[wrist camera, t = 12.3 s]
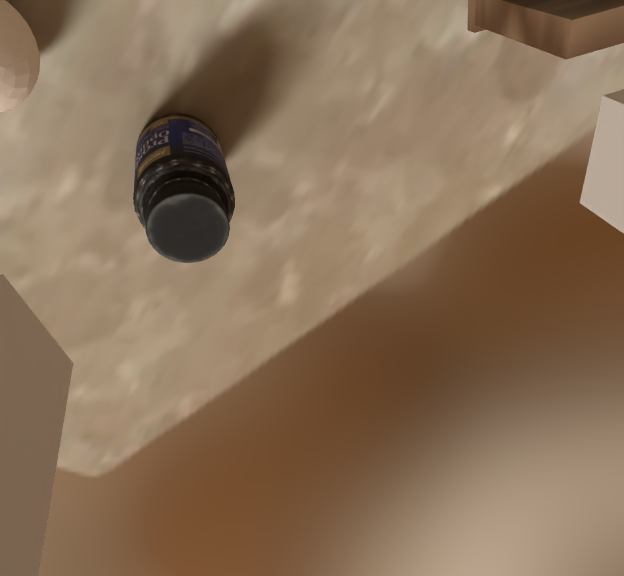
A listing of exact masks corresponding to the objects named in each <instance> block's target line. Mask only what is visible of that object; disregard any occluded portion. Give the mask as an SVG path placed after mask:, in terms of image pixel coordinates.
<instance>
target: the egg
mask: <svg viewBox="0 0 624 576" xmlns="http://www.w3.org/2000/svg"><path fill="white" fill-rule="evenodd" d="M39 69H40V55H39V51H38V47H37V43H36V39H35V37H34V35H33V33H32V31H31V29H30V27H29V25H28V24H27V22H26V21H25V20H24V18H23V17H22V16H21V15H20V13H19V12H18V11H17V10H16V9H15V8H14V7H13V6H12V5H11V4H10V3H8V2H7V1H6V0H0V112H3V111H6V110H9V109H12V108H13V107H15V106H16V105H18V104H19V103H21V102H22V101H24V99H25V98H26V97H27V96H28V95H29V94H30V93H31V91H32V89H33V87H34V86H35V84H36V82H37V79H38V75H39Z"/></svg>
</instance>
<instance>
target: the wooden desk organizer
mask: <svg viewBox="0 0 624 576" xmlns="http://www.w3.org/2000/svg"><path fill="white" fill-rule="evenodd" d="M468 30H469V31H472V32H474V33H475V32H479V31H482V30H489V31H492V32H494V33H497V34H500V35H502V36H505V37H508V38H510V39H513V40H516V41H518V42H521V43H524V44H526V45H529V46H532V47H534V48H537V49H540V50H542V51H545V52H548V53H550V54H553V55H556V56H558V57H561V58H564V59H569V58H573V57H576V56H580V55H583V54H587V53H590V52H593V51H597V50H600V49H604V48H607V47H611V46H614V45H618V44H621V43H624V0H469V3H468Z"/></svg>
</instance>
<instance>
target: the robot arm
mask: <svg viewBox="0 0 624 576" xmlns="http://www.w3.org/2000/svg"><path fill="white" fill-rule="evenodd" d="M580 203H581V204H582V205H584V206H585V207H586V208H588V209H589V210H591V211H592V212H594V213H595V214H597V215H598V216H599V217H601V218H602V219H604V220H605V221H607V222H608V223H609V224H611V225H612V226H614V227H615V228H617V229H618V230H619V231H621V232H622V233H624V90H620V91H617V92H614V93H610V94H607V95H604V96H603V98H602V103H601V108H600V112H599V117H598V121H597V126H596V131H595V136H594V140H593V144H592V149H591V154H590V159H589V163H588V167H587V172H586V177H585V182H584V186H583V191H582V195H581V200H580ZM72 367H73V362H72V361H71V360H70V359H69V357H68V356H67V355H66V354H65V352H64V351H63V350H62V348H61V347H60V346H59V345H58V343H57V342H56V341H55V340H54V338H53V337H52V336H51V335H50V333H49V332H48V331H47V329H46V328H45V327H44V326H43V324H42V323H41V322H40V321H39V319H38V318H37V317H36V315H35V314H34V313H33V312H32V310H31V309H30V308H29V307H28V305H27V304H26V303H25V302H24V300H23V299H22V298H21V296H20V295H19V294H18V293H17V291H16V290H15V289H14V288H13V286H12V285H11V284H10V282H9V281H8V280H7V279H6V277H5V276H4V275H3V274H2V275H0V576H38V574H39V568H40V562H41V556H42V550H43V544H44V538H45V532H46V526H47V520H48V513H49V507H50V501H51V495H52V489H53V483H54V477H55V471H56V465H57V459H58V452H59V446H60V440H61V434H62V428H63V422H64V416H65V410H66V404H67V398H68V391H69V385H70V379H71V373H72Z"/></svg>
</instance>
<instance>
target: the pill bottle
mask: <svg viewBox="0 0 624 576" xmlns="http://www.w3.org/2000/svg"><path fill="white" fill-rule="evenodd" d="M133 199H134V206H135V212H136V213H137V216H138V218H139V220H140V222H141V224H142V225H143V227H144V228H145V229H146V234H147V237H148V240H149V242H150V244H151V245H152V246H153V248H154V249H155V250H156V251H157V252H158V253H159V254H161V255H162V256H164V257H166V258H168V259H170V260H173V261H177V262H182V263H193V262H199V261H203V260H206V259H208V258H210V257H212V256H213V255H215V254H216V253H217V252H218V251H219V250H221V249H222V247H223V246H224V245H225V243H226V241H227V239H228V236H229V230H230V227H229V222H230V220H231V218H232V215H233V211H234V208H235V197H234V191H233V187H232V184H231V181H230V177H229V174H228V170H227V166H226V163H225V160H224V156H223V152H222V149H221V146H220V143H219V141H218V138H217V136H216V135H215V134H214V132H213V131H212V130H211V129H210V128H209V127H208V126H207V125H206V124H205V123H204V122H202V121H200V120H199V119H197V118H195V117H192V116H189V115H185V114H169V115H165V116H162V117H158V118H156V119H154V120H153V121H152V122H150V123H149V124H148V125H147V126H146V127H145V128H144V130H143V131H142V132H141V134H140V136H139V139H138V142H137V147H136V160H135V181H134V197H133Z"/></svg>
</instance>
